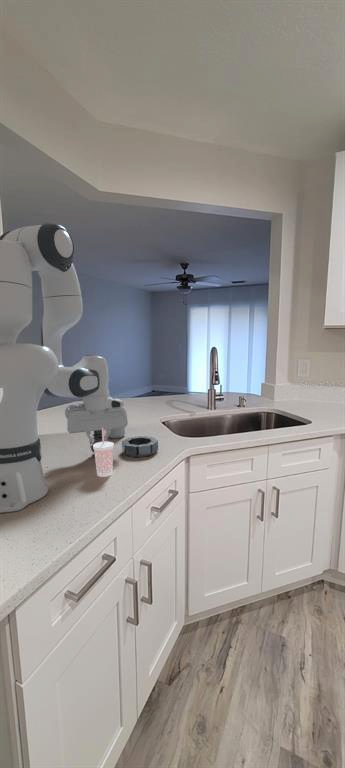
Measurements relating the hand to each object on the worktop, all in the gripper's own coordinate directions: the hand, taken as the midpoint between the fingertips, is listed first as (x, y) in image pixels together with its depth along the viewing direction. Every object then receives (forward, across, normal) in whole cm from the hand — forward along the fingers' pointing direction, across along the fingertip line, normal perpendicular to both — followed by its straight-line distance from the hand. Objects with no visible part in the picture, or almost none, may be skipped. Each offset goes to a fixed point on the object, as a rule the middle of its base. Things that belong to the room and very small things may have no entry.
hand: (98, 442), depth 116 cm
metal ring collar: (+5, +14, -2) cm, 15 cm away
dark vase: (+5, 0, 0) cm, 5 cm away
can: (+5, +10, +21) cm, 24 cm away
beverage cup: (+5, -1, -17) cm, 18 cm away
